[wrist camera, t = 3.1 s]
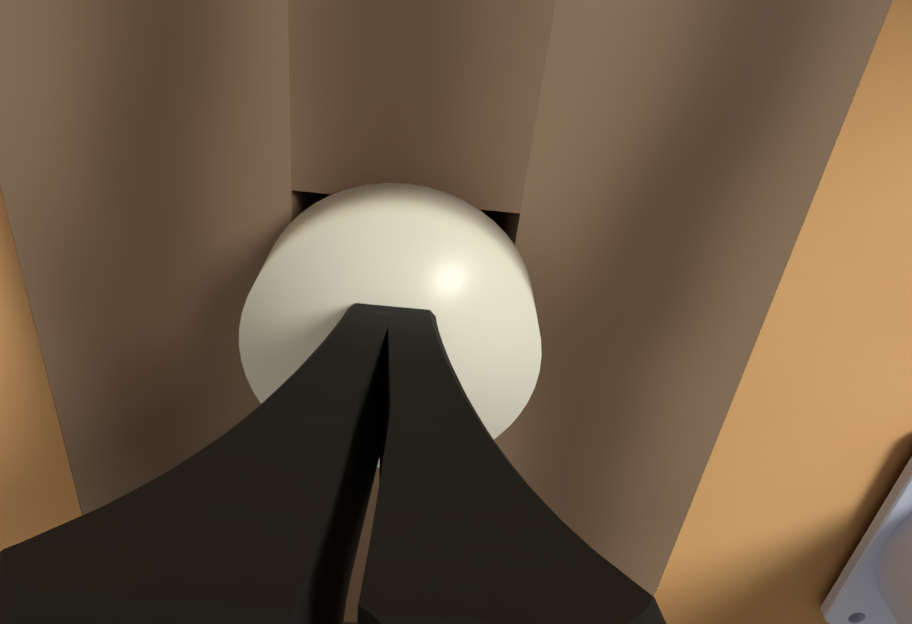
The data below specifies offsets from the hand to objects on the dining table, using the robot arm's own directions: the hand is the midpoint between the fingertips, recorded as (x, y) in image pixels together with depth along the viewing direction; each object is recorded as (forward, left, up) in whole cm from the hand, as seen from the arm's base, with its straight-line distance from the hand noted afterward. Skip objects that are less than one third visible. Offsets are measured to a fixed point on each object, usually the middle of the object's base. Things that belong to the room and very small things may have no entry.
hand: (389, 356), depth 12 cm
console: (0, +6, -5) cm, 8 cm away
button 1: (0, 0, -4) cm, 4 cm away
